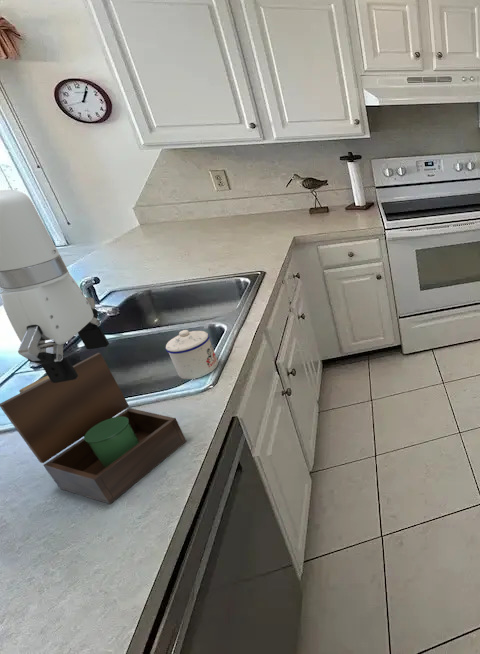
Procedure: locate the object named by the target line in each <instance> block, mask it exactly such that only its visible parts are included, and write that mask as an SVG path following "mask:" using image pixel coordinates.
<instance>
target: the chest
mask: <svg viewBox="0 0 480 654" xmlns="http://www.w3.org/2000/svg"><path fill="white" fill-rule="evenodd" d="M119 416H123V417H127V418H128V420H129V424H130V426H131V427H132V429H133V431H134V433H135V435H136V436H137V438H138V440H139V443H138V444H137V445H135V446H134V447H133V448H131V449H130V450H129V451H127V452H126V453H125V454H123V455H122V456H121V457H119V458H118V459H117V460H115V461H114V462H113V463H111V464H110V465H109V466H107V467H106V468H105V469H104V468H103V466H102V465H101V463H100V462H99V460H98V458H97V457H96V455H95V454H94V452H93V450H92V449H91V447H90V446H89V444H88V443H87V442H86V441H85V440H84V437H82V438H81V439H79V440H78V441H76V442H75V443H73V444H72V445H70V446H69V447H67V448H66V449H64V450H62V451H61V452H59V453H58V454H56V455H55V456H53V457H52V458H50V459H49V460H48V461H46V462H44V463H43V467H44V468H45V470H46V471H47V472H48V474H49V476H50V477H51V478H52V479H53V481H54V482H55V484H56V485H57V486H58V488H59V489H60V490H61V491H66V492H68V493H72V494H76V495H79V496H82V497H85V498H88V499H92V500H95V501H99V502H102V503H105V504H108V505H111V504H113V503H114V502H115V501H116V500H117V499H118V498H120V497H121V496H122V495H123V494H125V493H126V492H127V491H128V490H130V489H131V488H132V487H133V486H134V485H135V484H137V483H139V481H141V479H143V478H144V477H145V476H147V475H148V473H150V472H151V471H153V470H154V469H155V468H156V467H158V465H160V464H161V463H162V462H164V461H165V460H166V459H167V458H168V457H169V456H171V455H172V454H173V453H174V452H176V451H177V450H178V449H179V448H180V447H182V446H183V445H184V444H185V443H186V442H187V439H186V437H185V435H184V433H183V430H182V428H181V427H180V424H179V422H178V420H177V418H176V417H171V416H167V415H163V414H158V413H154V412H150V411H145V410H141V409H136V408H131V407H128V408H126V409H124V410H123V411H121V412H120V413H118V414H117V415H115V417H119Z"/></svg>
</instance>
